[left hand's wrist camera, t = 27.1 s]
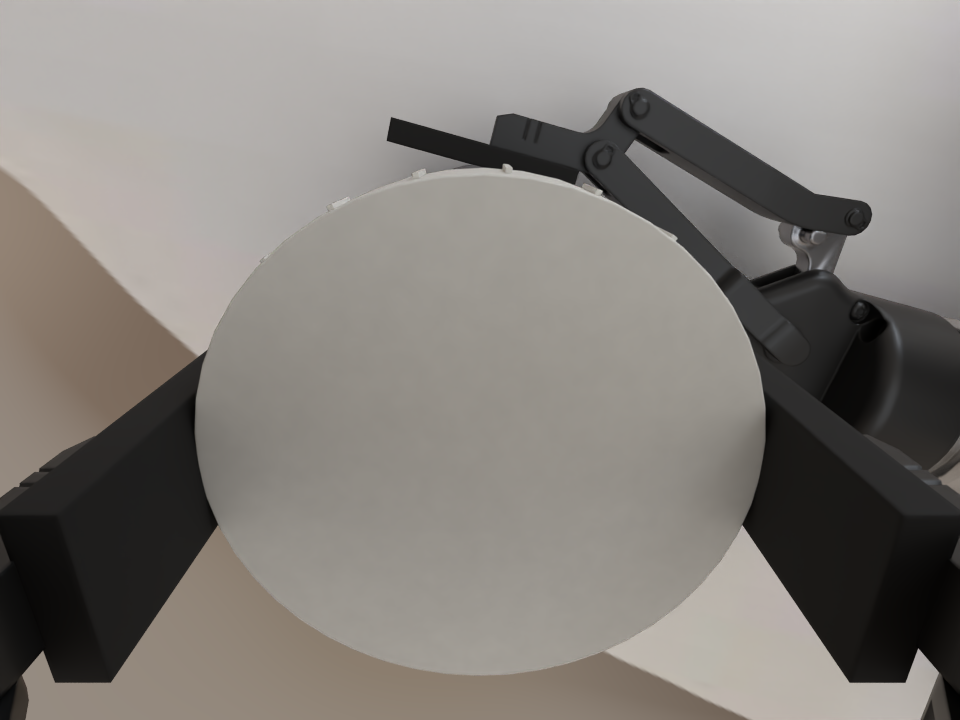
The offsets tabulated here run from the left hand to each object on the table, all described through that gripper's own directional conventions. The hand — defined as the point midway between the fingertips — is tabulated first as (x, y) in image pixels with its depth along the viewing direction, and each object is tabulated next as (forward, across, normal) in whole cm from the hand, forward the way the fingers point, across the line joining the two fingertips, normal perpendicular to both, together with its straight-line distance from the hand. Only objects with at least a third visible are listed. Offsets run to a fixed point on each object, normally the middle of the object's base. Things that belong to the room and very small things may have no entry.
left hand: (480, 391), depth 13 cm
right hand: (+10, -4, +1) cm, 11 cm away
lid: (-3, 0, 0) cm, 3 cm away
